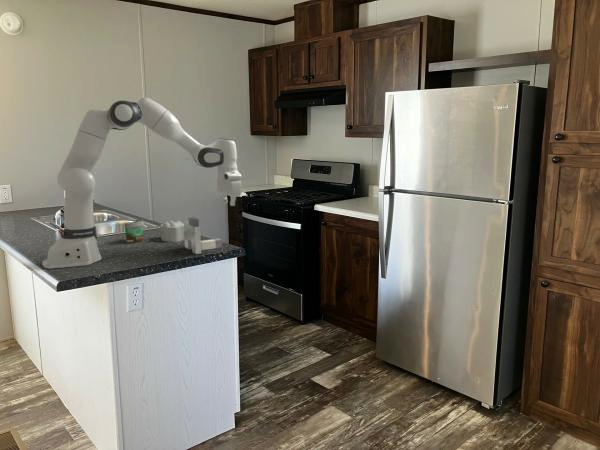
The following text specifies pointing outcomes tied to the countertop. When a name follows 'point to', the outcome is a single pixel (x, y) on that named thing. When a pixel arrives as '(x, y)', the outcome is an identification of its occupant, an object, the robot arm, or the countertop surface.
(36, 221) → the countertop surface
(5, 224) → the countertop surface
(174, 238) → the lumpy-topped squat cylinder
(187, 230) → the motor housing
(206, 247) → the cream rectangular bar
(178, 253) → the countertop surface
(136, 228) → the food container
